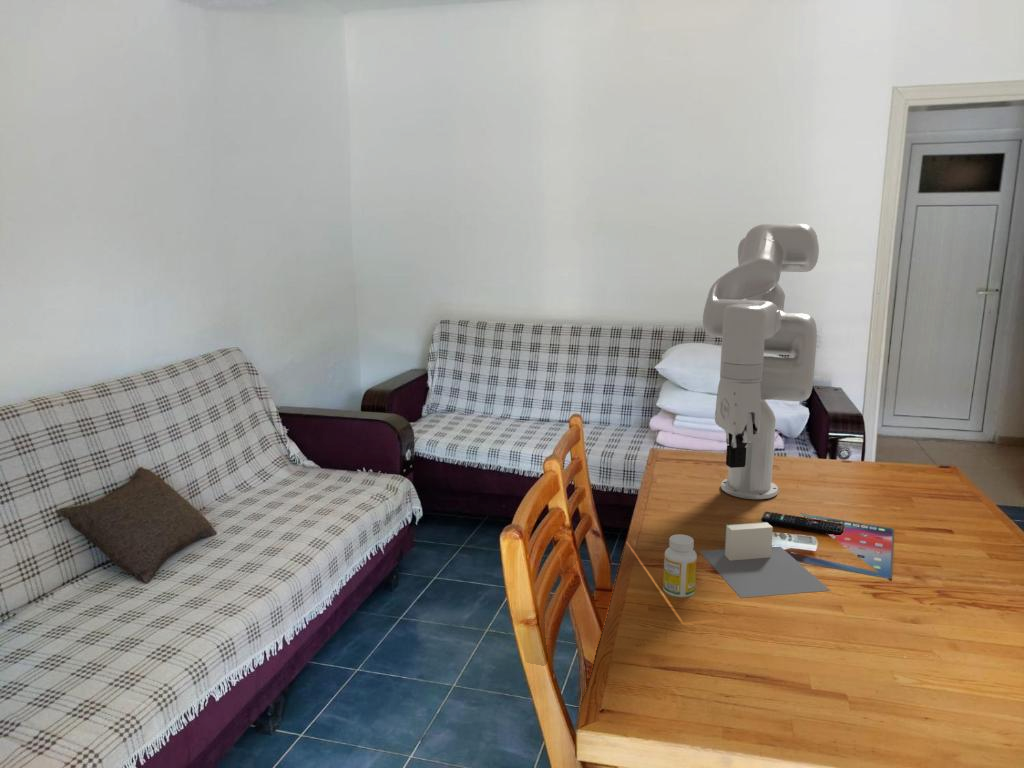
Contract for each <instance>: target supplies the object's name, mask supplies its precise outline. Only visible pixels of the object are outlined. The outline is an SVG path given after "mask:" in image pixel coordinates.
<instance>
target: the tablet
mask: <svg viewBox="0 0 1024 768" xmlns="http://www.w3.org/2000/svg"><path fill="white" fill-rule="evenodd" d="M799 514H800V515H801V516H802V517H804V518H805V517H806V518H805V519H807V518H814V519H820V520H827V521H831V522H838V523H843V524H844V526H845V530H844V533H842V534H841V535H834V534H827V535H828V536H829V537H831V538H832V539H833V540H835V542H837V543H838V544H840V545H842V546H843V547H844V548H845V549H847V550H848V551H849V552H850V553H852V554H853V555H855V556H856V557H858V558H859V559H860V560H861V561H862V562H864V563H866V565H869V566H870V568H872V569H873V570H875V571H873V570H869V569H865V568H860V567H856V566H852V565H847V564H844V563H838V562H835V561H831V560H826V559H822V558H818V557H814V556H809V555H805V554H801V553H796V552H792V551H787V550H785V551H786V552H787V553H788V554H789V555H791V556H792V557H793V558H794V559H795V560H796V561H797V562H799V563H800V564H807V565H813V566H818V567H823V568H828V569H833V570H838V571H844V572H849V573H855V574H860V575H865V576H871V577H875V578H879V579H881V578H882V579H886V580H888V581H889V582H890V581H892V580H893V570H894V569H893V566H894V543H895V529H893V528H891V527H887V526H879V525H875V524H867V523H862V522H855V521H850V520H842V519H837V518H831V517H825V516H819V515H812V514H807V513H806V514H805V513H799Z"/></svg>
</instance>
